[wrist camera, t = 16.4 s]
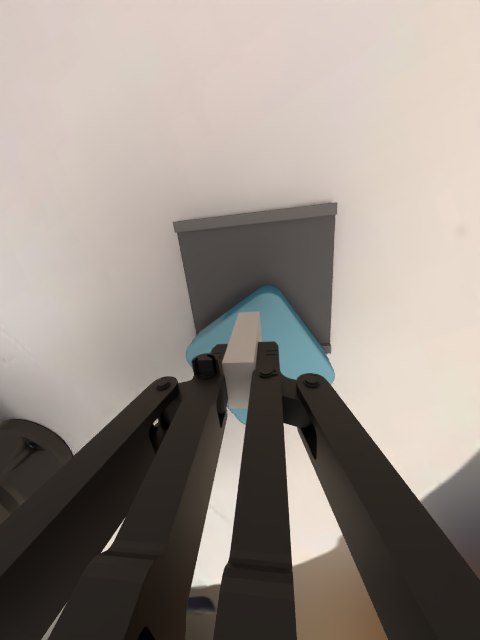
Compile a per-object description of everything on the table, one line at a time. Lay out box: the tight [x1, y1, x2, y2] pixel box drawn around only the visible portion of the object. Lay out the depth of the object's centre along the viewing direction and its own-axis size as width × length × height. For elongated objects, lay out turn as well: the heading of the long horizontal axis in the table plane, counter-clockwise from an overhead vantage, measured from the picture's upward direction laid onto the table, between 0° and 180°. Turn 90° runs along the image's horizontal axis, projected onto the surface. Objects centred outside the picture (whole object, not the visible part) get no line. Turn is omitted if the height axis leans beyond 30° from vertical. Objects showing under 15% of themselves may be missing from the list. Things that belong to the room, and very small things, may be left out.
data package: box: [186, 285, 335, 425], centre depth 27 cm, size 12×4×12 cm
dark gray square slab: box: [173, 203, 337, 353], centre depth 27 cm, size 16×16×2 cm
